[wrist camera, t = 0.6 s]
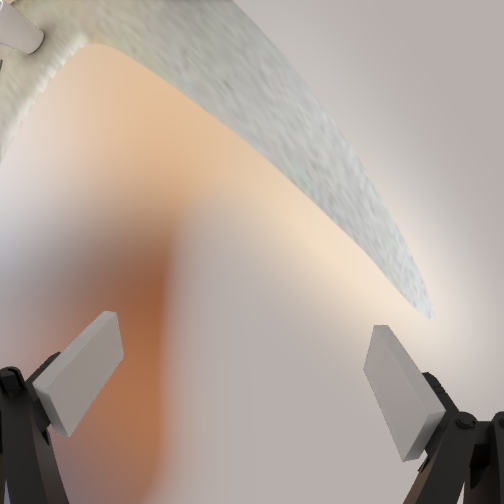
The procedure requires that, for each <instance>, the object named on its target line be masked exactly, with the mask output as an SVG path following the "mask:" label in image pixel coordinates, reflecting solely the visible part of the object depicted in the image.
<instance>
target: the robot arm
mask: <svg viewBox="0 0 504 504" xmlns="http://www.w3.org/2000/svg"><path fill="white" fill-rule="evenodd" d="M123 357H124V353H123V348H122V343H121V337H120V331H119V325H118V319H117V313H116V312H108V311H103V313H101V314H100V315H99V316H98V317H97V318H96V319H95V320H94V321H93V322H92V323H91V324H90V325H89V326H88V327H87V328H86V329H85V330H84V331H83V332H82V333H81V334H80V335H79V336H78V337H77V338H76V339H75V340H74V341H73V342H72V343H71V344H70V345H69V346H68V347H67V348H66V349H65V350H64V351H63V352H57V353H55V354H54V355H52V356H50V357H49V358H48V359H47V360H46V361H45V362H44V364H42V365H41V366H40V368H38V369H37V370H36V371H35V372H34V373H33V374H32V375H31V376H30V377H29V378H28V379H27V380H26V381H24V379H23V376H22V374H21V371H20V370H19V369H18V368H16V367H5V368H2V369H1V370H0V504H4V493H5V482H6V481H7V487H8V493H9V498H10V504H69V501H68V498H67V496H66V493H65V490H64V487H63V483H62V481H61V477H60V474H59V470H58V466H57V463H56V459H55V455H54V451H53V447H52V444H51V439H50V434H49V432H48V430H47V427H48V426H49V424H50V423H51V425H52V427H53V429H54V431H55V432H56V433H58V434H61V435H63V436H66V437H69V438H70V436H71V435H72V433H73V431H74V430H75V428H76V427H77V425H78V424H79V422H80V421H81V419H82V418H83V416H84V415H85V413H86V411H87V410H88V408H89V407H90V406H91V404H92V403H93V401H94V400H95V398H96V397H97V395H98V393H99V392H100V391H101V389H102V387H103V386H104V385H105V383H106V382H107V380H108V379H109V377H110V376H111V374H112V373H113V372H114V370H115V369H116V367H117V366H118V364H119V363H120V362H121V360H122V359H123ZM364 372H365V374H366V376H367V378H368V381H369V383H370V385H371V387H372V390H373V392H374V394H375V397H376V399H377V401H378V403H379V406H380V408H381V411H382V413H383V415H384V418H385V420H386V422H387V425H388V427H389V430H390V432H391V435H392V437H393V439H394V442H395V444H396V447H397V449H398V452H399V454H400V457H401V459H402V462H405V461H409V460H414V459H418V458H419V457H420V455H421V454H422V452H423V451H424V449H425V451H426V453H427V455H428V456H427V458H426V459H425V461H424V462H423V464H422V465H421V467H420V468H419V470H418V471H419V474H418V476H417V478H416V480H415V482H414V484H413V486H412V488H411V490H410V491H409V493H408V495H407V497H406V499H405V501H404V503H403V504H457V501H458V498H459V496H460V493H461V490H462V487H463V484H464V481H465V485H464V499H463V504H504V411H503V412H498V413H496V414H495V416H494V418H493V419H492V421H477V419H476V418H475V417H474V416H473V415H472V414H469V413H467V412H460V411H459V410H458V409H457V407H456V406H455V404H454V403H453V401H452V400H451V398H450V397H449V395H448V394H447V393H445V390H444V388H443V387H441V384H440V383H439V381H438V380H437V378H435V377H434V376H433V375H431V374H430V373H429V372H425V373H421V372H420V371H419V369H418V367H417V366H416V365H415V363H414V362H413V360H412V359H411V357H410V356H409V354H408V353H407V352H406V350H405V349H404V347H403V346H402V345H401V343H400V342H399V340H398V339H397V337H396V336H395V335H394V333H393V332H392V331H391V329H390V328H389V327H388V325H376V326H374V328H373V333H372V337H371V342H370V346H369V350H368V354H367V358H366V362H365V366H364Z"/></svg>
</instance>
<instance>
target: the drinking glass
mask: <svg viewBox="0 0 504 504" xmlns="http://www.w3.org/2000/svg"><path fill="white" fill-rule="evenodd" d="M43 38H44V33H43V31H41V30H40V29H39V28H37V27H36V26H35V25H34V24H33V23H31V22H30V21H29V20H28V19H27V18H26V17H25V16H24V15H22V14H21V13H20V12H19V11H18V10H17V9H15V8H14V7H13V6H11V5H10V4H8V3H6V2H4V1H3V0H0V44H3V45H5V46H8V47H11V48H14V49H17V50H19V51H22V52H23V53H25V54H30V53H32V52H34V51H35V50H36V49H37V48H38V47H39V46H40V45H41V43H42V41H43Z"/></svg>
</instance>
